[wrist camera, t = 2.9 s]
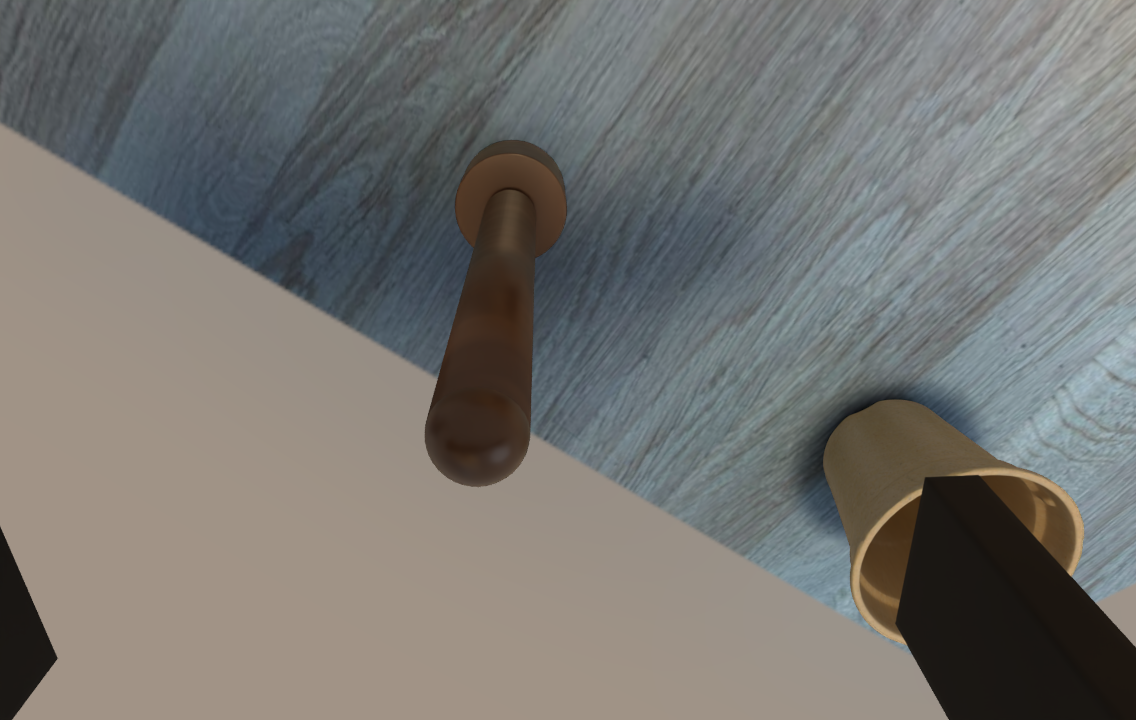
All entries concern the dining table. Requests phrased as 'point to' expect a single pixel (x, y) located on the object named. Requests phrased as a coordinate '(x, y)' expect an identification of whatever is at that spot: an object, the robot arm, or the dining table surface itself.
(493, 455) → the wooden pestle
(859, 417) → the flower pot
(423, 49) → the dining table surface
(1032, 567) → the robot arm
